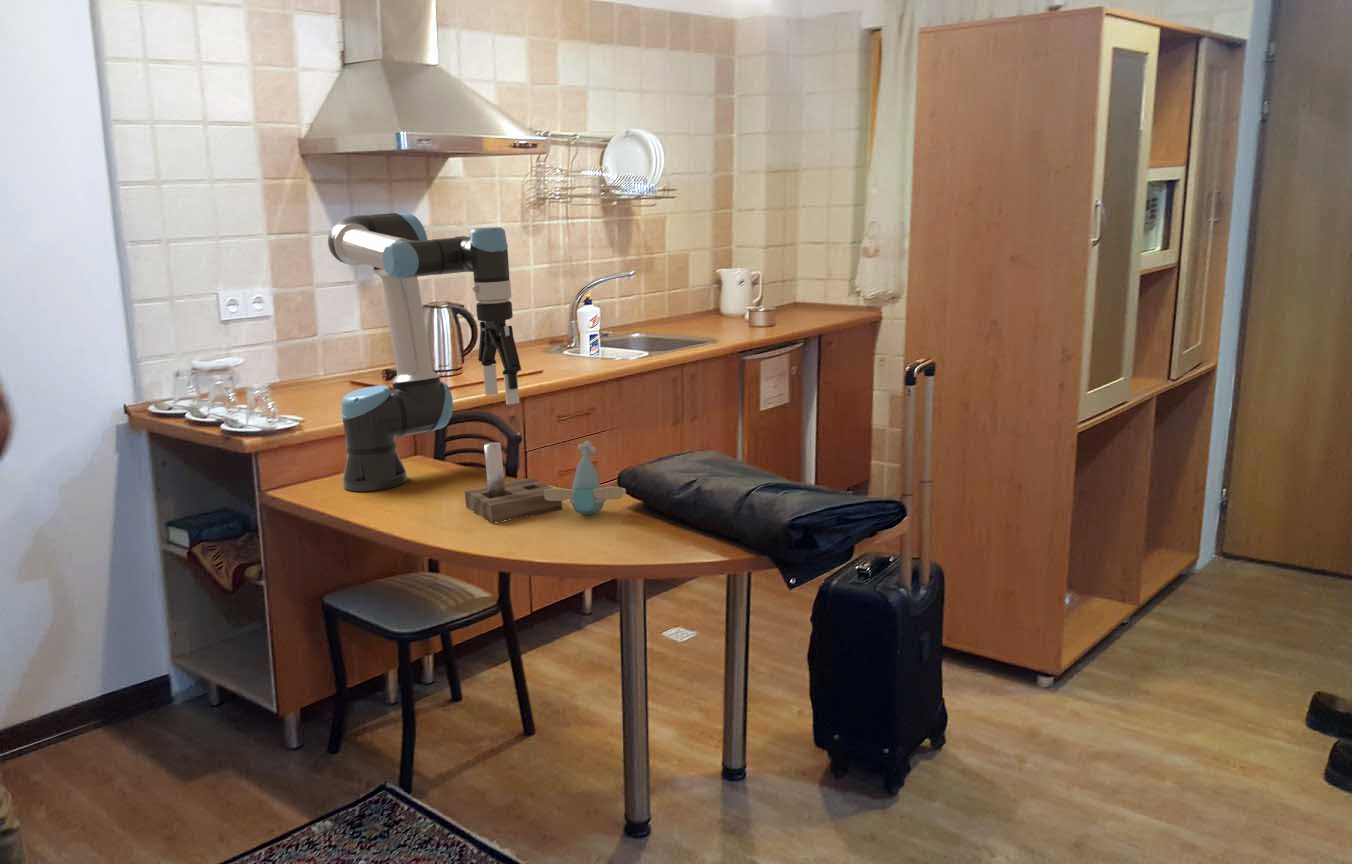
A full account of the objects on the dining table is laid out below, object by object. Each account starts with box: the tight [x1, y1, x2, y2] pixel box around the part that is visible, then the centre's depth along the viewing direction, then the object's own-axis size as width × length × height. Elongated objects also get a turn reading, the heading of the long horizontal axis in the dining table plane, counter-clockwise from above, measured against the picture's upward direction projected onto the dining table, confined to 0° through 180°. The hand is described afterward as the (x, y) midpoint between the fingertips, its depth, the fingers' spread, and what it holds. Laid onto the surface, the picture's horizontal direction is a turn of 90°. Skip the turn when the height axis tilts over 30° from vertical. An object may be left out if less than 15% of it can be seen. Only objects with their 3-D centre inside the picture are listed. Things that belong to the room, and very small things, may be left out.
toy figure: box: [544, 440, 627, 516], centre depth 233 cm, size 17×10×15 cm, turn 84°
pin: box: [483, 441, 506, 499], centre depth 238 cm, size 4×4×14 cm
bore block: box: [464, 477, 563, 524], centre depth 241 cm, size 16×16×4 cm
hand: (502, 399), depth 241 cm, fingers open, 13 cm apart
